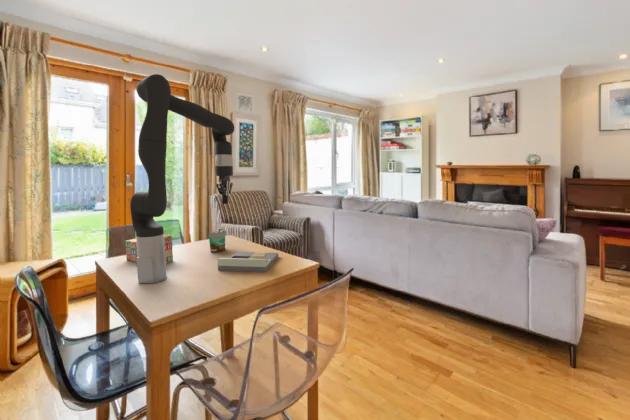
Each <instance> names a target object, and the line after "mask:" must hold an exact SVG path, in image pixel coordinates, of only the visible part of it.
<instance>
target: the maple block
mask: <svg viewBox="0 0 630 420" xmlns="http://www.w3.org/2000/svg"><path fill="white" fill-rule="evenodd" d="M267 253H268V252H266V253H254V254H253V255H252V259H266V262H267Z"/></svg>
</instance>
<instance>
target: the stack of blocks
mask: <svg viewBox="0 0 630 420" xmlns="http://www.w3.org/2000/svg"><path fill="white" fill-rule="evenodd" d="M172 238H173V237H172V234H171V235H170V234H166V233H164V245H165V259H166V264H169V263H172V262H174V257H173V256H174V254H173V239H172ZM124 246H125V257H126V261H128V260H130V262H135V261H136V263H137V260H136V258H137V257H138V254H137V241H136V237H135V238H132V239H131V238H130V239H127V240H124Z"/></svg>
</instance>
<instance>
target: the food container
mask: <svg viewBox="0 0 630 420" xmlns="http://www.w3.org/2000/svg"><path fill="white" fill-rule="evenodd" d="M227 235H228V234H227V230H226V229H223V228H219V229H218V230H217V231H214V232H208V239H209V251H210V253H211V254H213V253H216V254H217V253H222V252H224V251H225V250H226V236H227Z"/></svg>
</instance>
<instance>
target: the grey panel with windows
mask: <svg viewBox="0 0 630 420" xmlns="http://www.w3.org/2000/svg"><path fill="white" fill-rule="evenodd" d="M254 253H267V262H266V259H252V255H253V254H254ZM278 258H279V252H265V251H264V252H263V251H261V252H255V251H235V253H233V254H231V256H229V257H218V258H217V271H224V272H225V271H228V272H231V271H232V272H258V273H259V272H260V273H261V272H262V273H266V272H267V271H268V270H269V269H270V268H271V266H273V264H274V263H275V262H276V261H277V260H278ZM269 267H270V268H269Z"/></svg>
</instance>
